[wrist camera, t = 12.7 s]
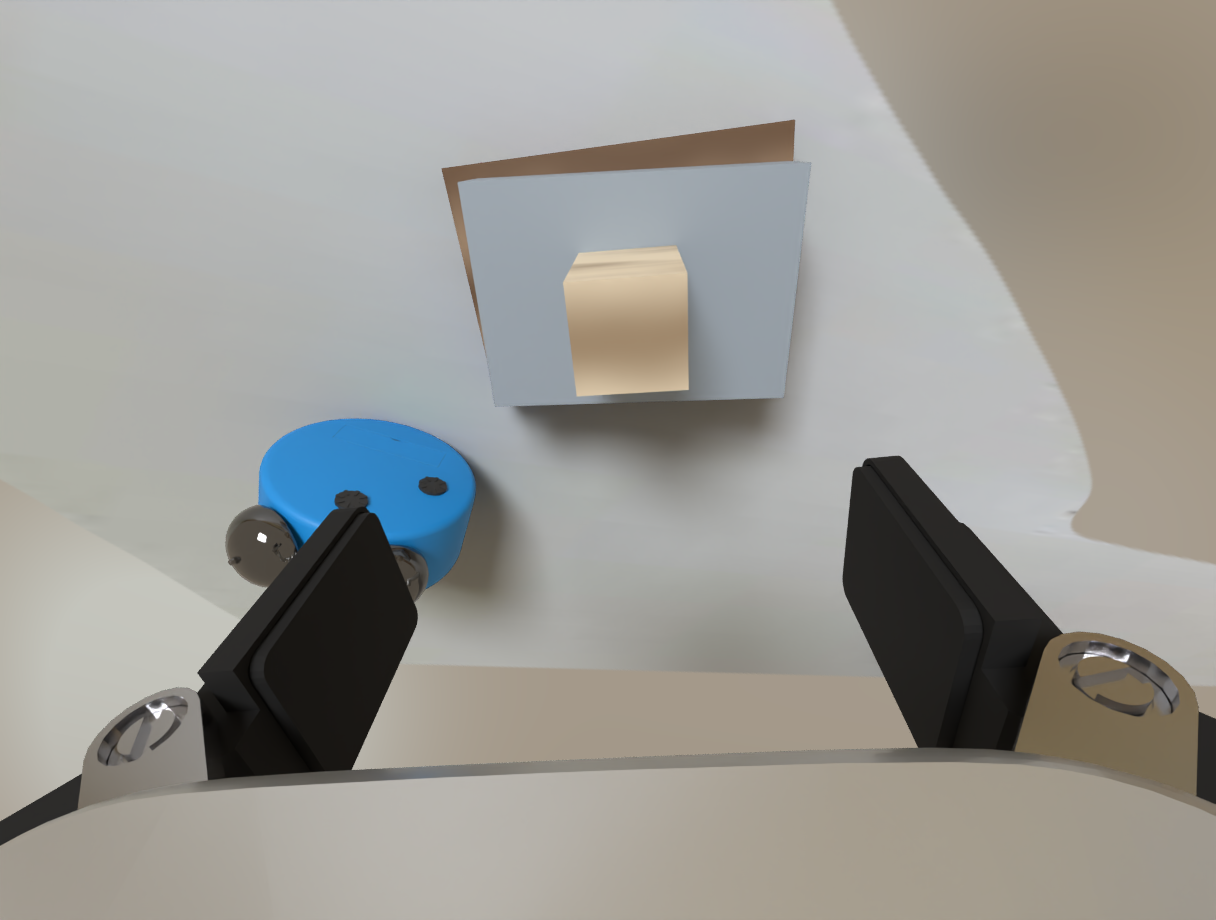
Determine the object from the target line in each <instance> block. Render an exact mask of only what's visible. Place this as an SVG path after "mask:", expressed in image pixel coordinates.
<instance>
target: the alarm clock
mask: <svg viewBox="0 0 1216 920" xmlns="http://www.w3.org/2000/svg"><path fill="white" fill-rule="evenodd" d="M475 495H476V482H475V478H474V475H473V472H472V470H471V468H470V467H469V465H468V464H467V462H466V461H465V460H464V458H463V457H462V456H461V455H460V454H459V453H458V452H457V451H456V450H454V449H453V448H452V447H450V446H449V445H448V444H446V443H445V442H443V441H441V440H440V439H438V438H436V437H434V436H432V435H430V434H428V433H425V432H423V431H421V430H418V429H415V428H412V427H409V426H405V425H402V424H397V423H393V422H388V421H381V420H373V419H338V420H329V421H323V422H318V423H314V424H310V425H307V426H304V427H301V428H299V429H296V430H294V431H292V432H290V433H288V434H287V435H285V436H283V437H282V438H281V439H279V440H278V441H277V442H276V443H274V444H273V445H272V446H271V447H270V449H269V450H268V451H267V452H266V454H265V456H264V458H263V460H262V463H261V466H260V471H259V502H258V505H255V506H252V507H249V508H247V509H245V510H244V511H242V512H240V513H239V514H238V515H237V516H236V517H235V518H234V519H233V521H232V522H231V524H230V525H229V528H228V531H227V534H226V542H225V547H226V553H227V556H228V559H229V561H228V563H229V564H230V565H232V566H233V568H234V569H235V570H236V572H237V573H238V574H239V575H240V576H241V577H242V578H244V579H245V580H247V581H248V582H250V583H252V584H255V585H258V586H261V587H269V586H270V584H271V583H272V582H273V581H274V580H275V578H276V577H277V576H278V575H279V574H280V572H281V571H282V570H283V569H284V568H285V566H286V565H287V564H288V563H289V562H290V560H291V559H292V558H293V557H294V555H295V554H296V553H297V552H298V551H299V549H300V548H301V547H302V546H303V545H304V543H305V542H306V541H307V540H308V539H309V537H310V536H311V535H312V534H313V533H314V531H315V530H316V529H317V528H318V527H319V525H320V524H321V523H322V522H323V521H324V519H325V518H326V517H327V516H328V514H329V513H330V512H331V511H333V510H334V509H340V508H350V507H361V506H362V507H366V508H367V509H368V510H369V512H370V513H375V514H376V515H377V516H378V518H379V520H380V522H381V525H382V527H383V530H384V532H385V534H386V537H387V539H388V542H389V544H390V546H391V549H392V551H393V553H394V556H395V558H396V561H397V563H398V565H399V568H400V570H401V573H402V575H403V577H404V580H405V582H406V585H407V587H408V589H409V592H410V594H411V597H412V599H413V601H414V603H415V602H416V601H417V600H418V599H419V598H420V596H421V595H422V593H423V592H424V590H425V589H427V588H429V587H430V586H432V585H434V584H435V583H437V582H438V581H439V580H441V579H442V578H443V577H444V576H445V575H446V574H447V573H448V572H449V571H450V570H451V568H452V567H453V565H454V564H455V562H456V560H457V558H458V557H459V554H460V551H461V548H462V544H463V540H464V537H465V533H466V529H467V526H468V522H469V518H470V514H471V511H472V507H473V503H474V500H475Z"/></svg>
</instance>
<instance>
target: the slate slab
mask: <svg viewBox="0 0 1216 920" xmlns="http://www.w3.org/2000/svg"><path fill="white" fill-rule="evenodd" d="M810 169H811V163H810V162H797V161H780V162H762V163H744V164H726V165H708V166H690V167H672V168H654V169H637V170H619V171H601V172H583V173H565V174H547V175H529V176H511V177H493V178H477V179H472V180H467V181H461V182H458V188H459V194H460V200H461V206H462V212H463V218H464V224H465V230H466V236H467V242H468V248H469V254H470V260H471V266H472V272H473V278H474V284H475V290H476V296H477V302H478V308H479V314H480V320H481V326H482V332H483V338H484V344H485V350H486V356H487V362H488V368H489V374H490V380H491V386H492V392H493V398H494V404H495V407H502V406H534V405H567V404H599V403H631V402H664V401H696V400H728V399H761V398H784V391H785V382H786V374H787V365H788V357H789V348H790V340H791V331H792V323H793V314H794V306H795V297H796V289H797V280H798V272H799V263H800V255H801V246H802V238H803V229H804V221H805V212H806V204H807V195H808V187H809V178H810ZM671 245H676V246H677V248H678V251H679V253H680V256H681V258H682V261H683V263H684V266H685V268H686V271H687V275H688V375H689V390H678V391H661V392H644V393H627V394H611V395H594V396H577V395H576V386H575V378H574V370H573V361H572V353H571V345H570V337H569V328H568V320H567V312H566V303H565V295H564V287H563V282H564V280H565V278H566V276H567V274H568V272H569V270H570V268H571V266H572V265H573V263H574V261H575V259H576V257H577V255H578V253H584V252H596V251H609V250H621V249H634V248H646V247H658V246H671Z"/></svg>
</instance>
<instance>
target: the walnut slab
mask: <svg viewBox="0 0 1216 920" xmlns="http://www.w3.org/2000/svg"><path fill="white" fill-rule="evenodd" d="M794 131H795V120H789V121H782V122H775V123H768V124H760V125H753V126H746V127H739V128H731V129H724V130H717V131H710V132H702V133H695V134H688V135H681V136H673V137H666V138H659V139H652V140H645V141H637V142H630V143H623V144H616V145H608V146H601V147H594V148H587V149H579V150H572V151H565V152H558V153H550V154H543V155H536V156H529V157H521V158H514V159H507V160H500V161H492V162H485V163H478V164H471V165H463V166H456V167H449V168H442V172H443V177H444V181H445V185H446V189H447V193H448V198H449V202H450V206H451V210H452V214H453V219H454V223H455V227H456V231H457V235H458V240H459V244H460V248H461V252H462V256H463V261H464V265H465V269H466V273H467V277H468V282H469V286H470V290H471V294H472V298H473V303H474V307H475V311H476V315H477V319H478V324H479V328H480V332H481V336H482V340H483V345H484V349H485V344H484V338H483V332H482V326H481V320H480V314H479V308H478V302H477V296H476V290H475V284H474V278H473V272H472V266H471V260H470V254H469V248H468V242H467V236H466V230H465V224H464V218H463V212H462V206H461V200H460V194H459V188H458V182H461V181H467V180H472V179H477V178H493V177H511V176H529V175H547V174H565V173H583V172H601V171H619V170H637V169H654V168H672V167H690V166H708V165H726V164H744V163H762V162H780V161H793V155H794ZM485 353H486V350H485ZM486 357H487V356H486Z"/></svg>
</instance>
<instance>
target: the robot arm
mask: <svg viewBox="0 0 1216 920" xmlns="http://www.w3.org/2000/svg"><path fill="white" fill-rule="evenodd" d="M843 587H844V591H845V595H846V597H847V599H848V601H849V604H850V606H851V608H852V610H853V612H854V614H855V616H856V618H857V620H858V622H859V625H860V627H861V629H862V631H863V633H864V635H865V637H866V639H867V641H868V643H869V645H870V648H871V650H872V652H873V654H874V656H875V658H876V660H877V662H878V664H879V666H880V668H881V671H882V673H883V675H884V677H885V679H886V681H887V683H888V685H889V687H890V689H891V692H892V693H893V695H894V698H895V700H896V702H897V704H898V706H899V708H900V710H901V712H902V715H903V717H904V719H905V721H906V723H907V725H908V727H909V729H910V731H911V733H912V735H913V738H914V739H915V742H916V744H917V746H918V748H898V749H897V748H894V749H893V748H891V749H845V750H807V751H780V752H755V753H728V754H703V755H676V756H652V757H651V756H650V757H627V758H604V759H580V760H556V761H534V762H513V763H490V764H467V765H446V766H426V767H406V768H387V769H366V770H352V767H353V765H354V763H355V761H356V759H357V757H358V754H359V752H360V750H361V748H362V745H363V743H364V741H365V739H366V737H367V734H368V732H369V730H370V728H371V725H372V723H373V721H374V719H375V717H376V714H377V712H378V710H379V707H380V706H381V703H382V701H383V699H384V697H385V694H386V692H387V690H388V688H389V686H390V683H391V681H392V679H393V677H394V675H395V672H396V670H397V668H398V666H399V664H400V661H401V659H402V657H403V655H404V652H405V650H406V648H407V646H408V644H409V641H410V639H411V637H412V635H413V633H414V630H415V628H416V625H417V620H418V614H417V609H416V606H415V604H414V601H413V599H412V597H411V594H410V592H409V589H408V587H407V585H406V582H405V580H404V577H403V575H402V573H401V570H400V568H399V565H398V563H397V561H396V558H395V556H394V553H393V551H392V549H391V546H390V544H389V542H388V539H387V537H386V534H385V532H384V530H383V527H382V525H381V522H380V520H379V518H378V516H377V515H376V514H375V513H370V512H369V510H368V509H367V508H366V507H362V506H361V507H350V508H340V509H334V510H333V511H331V512H330V513H329V514H328V516H327V517H326V518H325V519H324V521H323V522H322V523H321V524H320V525H319V527H318V528H317V529H316V530H315V531H314V533H313V534H312V535H311V536H310V537H309V539H308V540H307V541H306V542H305V543H304V545H303V546H302V547H301V548H300V549H299V551H298V552H297V553H296V554H295V555H294V557H293V558H292V559H291V560H290V562H289V563H288V564H287V565H286V566H285V568H284V569H283V570H282V571H281V572H280V574H279V575H278V576H277V577H276V578H275V580H274V581H273V582H272V583H271V584H270V586H269V587H268V588H267V589H266V590H265V592H264V593H263V594H262V595H261V596H260V598H259V599H258V600H257V601H256V602H255V604H254V605H253V606H252V607H251V609H250V610H249V611H248V612H247V613H246V615H245V616H244V617H243V618H242V619H241V621H240V622H239V623H238V624H237V625H236V627H235V628H234V629H233V630H232V632H231V633H230V634H229V635H228V636H227V638H226V639H225V640H224V641H223V642H222V644H221V645H220V646H219V647H218V648H217V650H216V651H215V652H214V653H213V654H212V656H211V657H210V658H209V659H208V660H207V662H206V663H205V664H204V665H203V667H202V668H201V669H200V670H199V671H198V674H199V676H200V677H201V678H202V680H203V681H204V682H205V684H204V685H203V686H202V688H201V689H200V690H199V691H198V693H197V692H196V691H194V690H192V689H190V688H177V687H176V688H172V689H167V690H163V691H160V692H158V693H155V694H153V695H151V696H148V697H146V698H144V699H142V700H141V701H139V702H137V703H135V704H134V705H132V706H130V707H129V708H127V709H126V710H124V711H123V712H122V713H121V714H119V715H118V716H117V717H115V718H114V719H113V720H111V721H110V723H109V724H108V725H107V726H106V727H105V728H104V729H103V730H102V731H101V732H100V733H99V734H98V735H97V736H96V738H95V739H94V741H93V742H92V743H91V745H90V746H89V748H88V750H87V753H86V756H85V759H84V762H83V770H82V774H81V775H79V776H77V777H75V778H74V779H72V780H71V781H69V782H67V783H65V784H64V785H62V786H60V787H58V788H57V789H55V790H53V791H52V792H50V793H48V794H46V795H45V796H43V797H42V798H40V799H38V800H36V801H35V802H33V803H31V804H29V805H28V806H26V807H24V808H23V809H21V810H19V811H17V812H16V813H14V814H12V815H11V816H9V817H7V818H5V819H4V820H2V821H0V920H1216V719H1215V718H1212V717H1210V716H1208V715H1205V714H1203V713H1201V712H1199V707H1198V703H1197V699H1196V695H1195V692H1194V691H1193V689H1192V688H1191V686H1190V685H1189V684H1188V682H1187V681H1186V680H1185V678H1184V677H1183V676H1182V675H1181V674H1180V673H1179V672H1177V671H1176V670H1175V669H1174V668H1173V667H1172V666H1171V665H1169V664H1168V663H1167V662H1166V661H1164V660H1163V659H1161V658H1159V657H1158V656H1156V655H1154V654H1153V653H1151V652H1149V651H1148V650H1146V649H1144V648H1142V647H1139V646H1137V645H1135V644H1132V643H1130V642H1127V641H1125V640H1123V639H1119V638H1115V637H1112V636H1108V635H1104V634H1100V633H1090V632H1072V633H1065V634H1063V633H1062V632H1061V631H1060V630H1059V628H1058V627H1057V626H1056V625H1055V624H1054V623H1053V622H1052V621H1051V619H1050V618H1049V617H1048V616H1047V615H1046V614H1045V613H1044V612H1043V610H1042V609H1041V608H1040V607H1039V606H1038V605H1037V604H1036V603H1035V601H1034V600H1033V599H1032V598H1031V597H1030V596H1029V595H1028V594H1027V592H1026V591H1025V590H1024V589H1023V588H1022V587H1021V586H1020V585H1019V583H1018V582H1017V581H1016V580H1015V579H1014V578H1013V577H1012V575H1011V574H1010V573H1009V572H1008V571H1007V570H1006V569H1005V568H1004V566H1003V565H1002V564H1001V563H1000V562H999V561H998V560H997V559H996V557H995V556H994V555H993V554H992V553H991V552H990V551H989V550H988V548H987V547H986V546H985V545H984V544H983V543H982V542H981V541H980V539H979V538H978V537H977V536H976V535H975V534H974V533H973V532H972V530H971V529H970V528H968V527H967V526H966V525H965V524H964V523H960V522H958V520H957V519H956V518H955V517H954V516H953V515H952V514H951V512H950V511H949V510H948V509H947V508H946V507H945V506H944V504H943V503H942V502H941V501H940V500H939V499H938V498H937V496H936V495H935V494H934V493H933V492H932V491H931V490H930V488H929V487H928V486H927V485H926V484H925V483H924V482H923V480H922V479H921V478H920V477H919V476H918V475H917V474H916V472H915V471H914V470H913V469H912V468H911V467H910V466H909V464H908V463H907V462H906V461H905V460H904V459H903V458H902V457H901V456H889V457H878V458H868V459H866V460H865V461H864V463H863V466H862V467H856V468H855V469H854V471H853V477H852V487H851V497H850V507H849V517H848V527H847V538H846V548H845V558H844V568H843Z"/></svg>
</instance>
